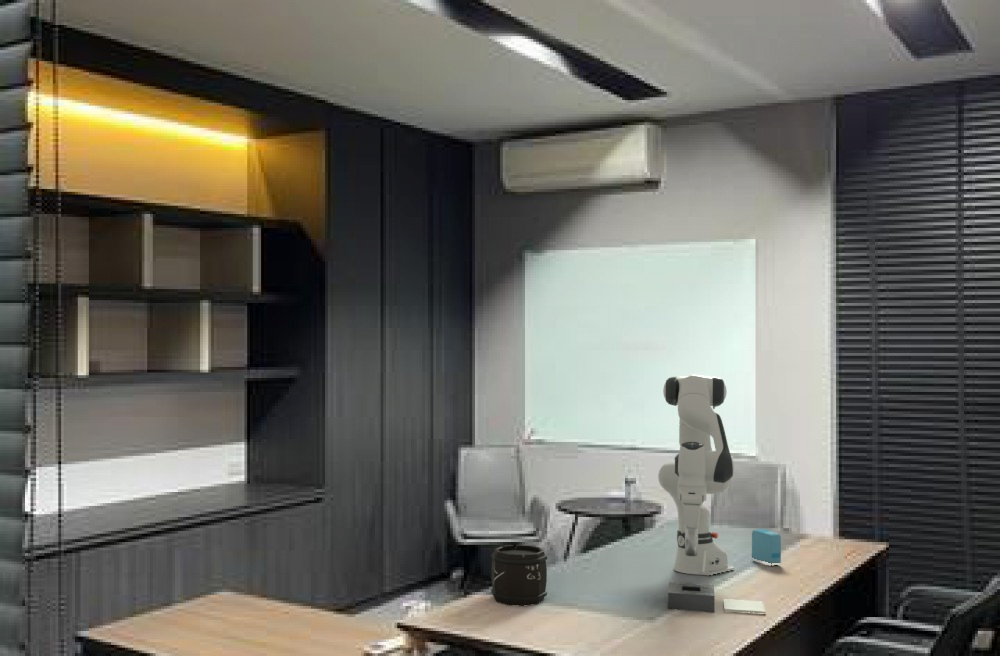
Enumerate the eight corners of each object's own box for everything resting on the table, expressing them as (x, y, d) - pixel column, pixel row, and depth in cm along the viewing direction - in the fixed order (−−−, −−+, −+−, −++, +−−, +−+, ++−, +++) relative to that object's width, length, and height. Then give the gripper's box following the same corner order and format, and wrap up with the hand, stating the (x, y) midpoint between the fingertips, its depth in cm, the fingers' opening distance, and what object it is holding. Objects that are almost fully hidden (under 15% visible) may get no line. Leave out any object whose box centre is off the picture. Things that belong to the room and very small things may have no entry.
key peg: (692, 553, 294) (692, 521, 295) (700, 555, 291) (700, 523, 291) (682, 554, 292) (682, 522, 293) (690, 556, 289) (690, 524, 289)
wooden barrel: (504, 589, 307) (505, 541, 308) (554, 596, 299) (555, 547, 300) (479, 602, 291) (480, 551, 292) (531, 609, 283) (532, 557, 284)
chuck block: (669, 597, 300) (669, 581, 300) (713, 600, 297) (713, 584, 297) (667, 609, 286) (667, 592, 286) (714, 612, 283) (714, 595, 283)
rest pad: (723, 601, 295) (723, 598, 295) (762, 604, 293) (762, 601, 293) (724, 612, 283) (724, 608, 283) (765, 614, 281) (765, 611, 281)
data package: (781, 566, 347) (781, 534, 347) (770, 567, 345) (771, 534, 346) (761, 559, 358) (761, 528, 358) (751, 560, 356) (751, 529, 357)
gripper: (682, 489, 303) (681, 531, 303) (681, 498, 283) (680, 544, 283) (702, 490, 302) (701, 532, 301) (702, 499, 282) (702, 545, 281)
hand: (691, 538), depth 292 cm, fingers closed on key peg, 4 cm apart
